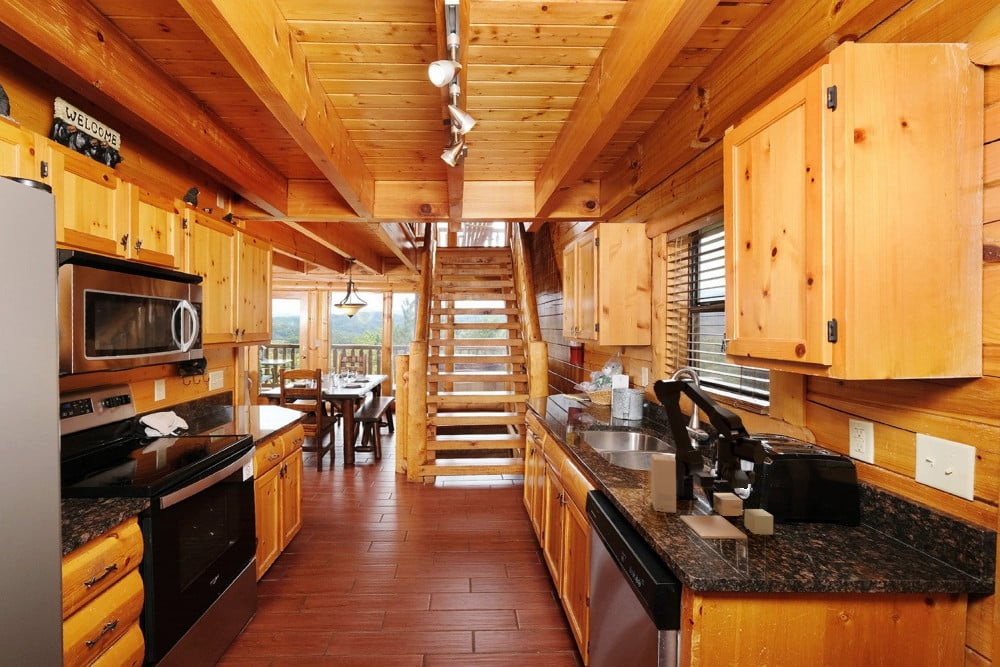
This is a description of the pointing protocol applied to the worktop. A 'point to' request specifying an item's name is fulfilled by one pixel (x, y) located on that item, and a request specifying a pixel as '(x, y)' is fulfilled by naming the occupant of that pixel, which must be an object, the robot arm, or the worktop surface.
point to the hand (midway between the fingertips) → (727, 508)
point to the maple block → (727, 504)
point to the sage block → (758, 521)
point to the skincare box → (663, 483)
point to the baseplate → (712, 527)
